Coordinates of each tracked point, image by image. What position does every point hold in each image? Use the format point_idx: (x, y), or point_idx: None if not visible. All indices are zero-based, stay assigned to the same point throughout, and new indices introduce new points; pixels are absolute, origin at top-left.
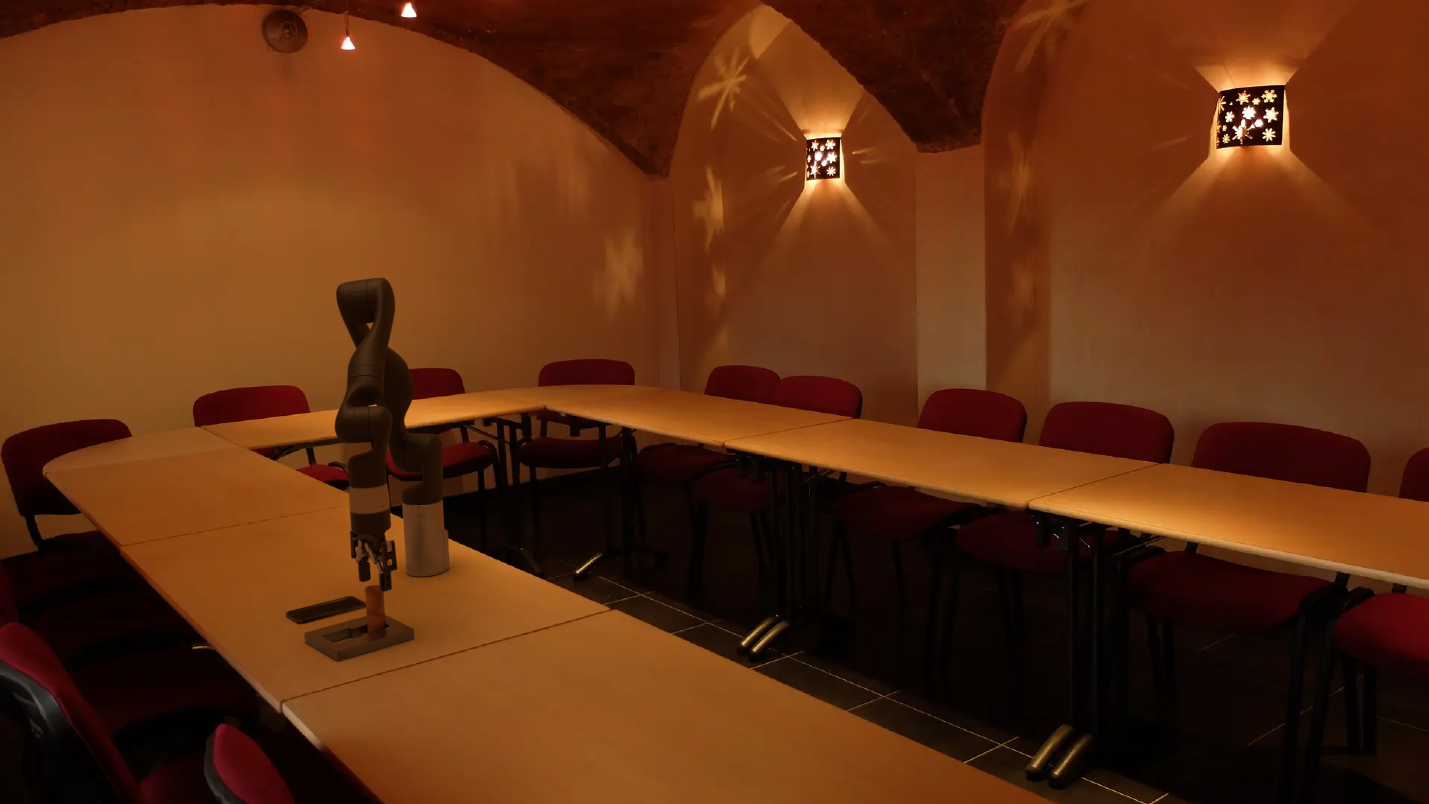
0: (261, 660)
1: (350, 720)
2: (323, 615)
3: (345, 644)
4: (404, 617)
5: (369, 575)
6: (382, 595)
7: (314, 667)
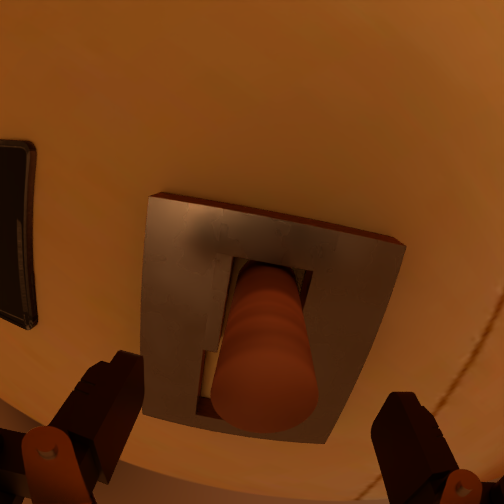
0: (179, 466)
1: (471, 466)
2: (28, 275)
3: (307, 419)
4: (200, 115)
5: (133, 378)
6: (311, 358)
7: (299, 453)
